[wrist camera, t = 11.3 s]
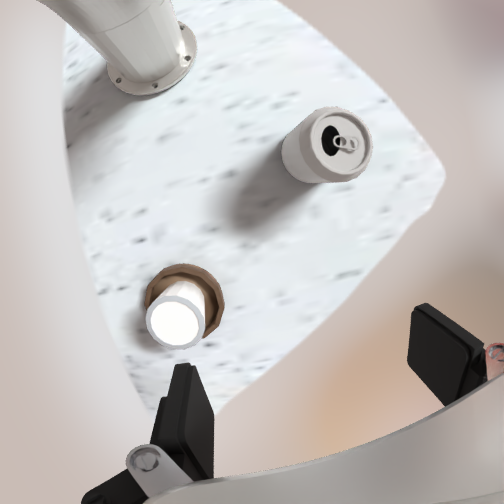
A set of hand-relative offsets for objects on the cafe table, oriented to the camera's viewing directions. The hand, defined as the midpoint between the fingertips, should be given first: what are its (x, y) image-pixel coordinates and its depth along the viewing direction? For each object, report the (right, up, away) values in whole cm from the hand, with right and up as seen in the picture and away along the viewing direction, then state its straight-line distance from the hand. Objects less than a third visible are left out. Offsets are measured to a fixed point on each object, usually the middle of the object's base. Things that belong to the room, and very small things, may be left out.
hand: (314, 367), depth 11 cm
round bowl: (-11, -2, +27) cm, 29 cm away
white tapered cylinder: (-11, -2, +27) cm, 29 cm away
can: (+5, +17, +24) cm, 30 cm away
